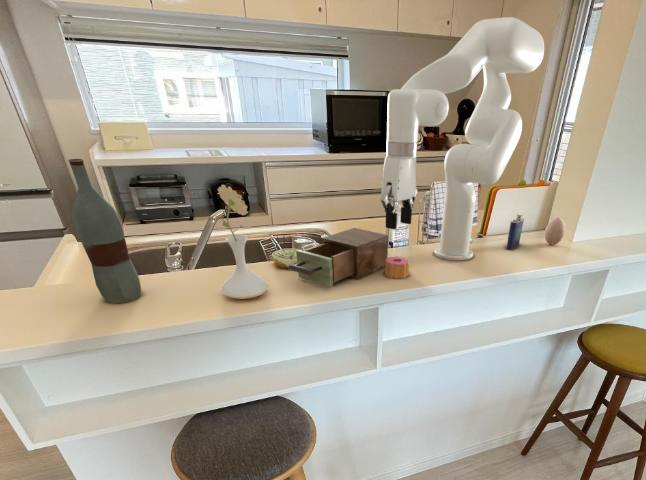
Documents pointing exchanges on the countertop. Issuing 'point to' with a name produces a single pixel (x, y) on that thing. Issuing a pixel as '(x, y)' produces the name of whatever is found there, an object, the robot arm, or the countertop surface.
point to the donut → (396, 267)
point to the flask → (515, 233)
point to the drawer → (325, 263)
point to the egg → (555, 231)
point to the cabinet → (363, 249)
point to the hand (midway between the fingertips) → (398, 225)
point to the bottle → (103, 241)
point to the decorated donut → (285, 257)
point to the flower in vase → (239, 254)
